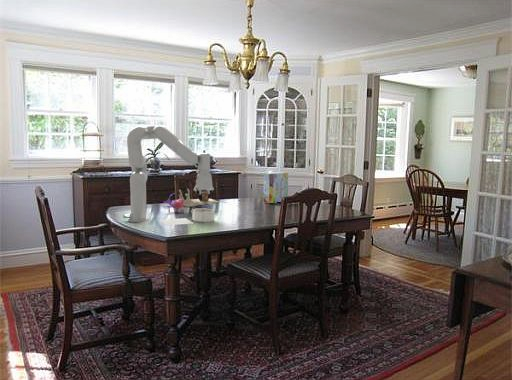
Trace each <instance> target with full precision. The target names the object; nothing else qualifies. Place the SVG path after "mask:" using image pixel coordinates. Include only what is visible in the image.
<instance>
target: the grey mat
mask: <svg viewBox="0 0 512 380" xmlns="http://www.w3.org/2000/svg"><path fill="white" fill-rule="evenodd" d="M159 221H160V222H161V223H162V224H164V225H165V226H174V225H175V226H176V225H177V226H178V225H191V224H193V225H194V224H195V223H194V222H193V221H191V220H189V218H186V217H184V218H183V217H181V218H168V219H167V218H165V219H164V218H163V219H159Z"/></svg>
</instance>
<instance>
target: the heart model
mask: <svg viewBox="0 0 512 380" xmlns="http://www.w3.org/2000/svg"><path fill="white" fill-rule="evenodd" d="M175 194H176V195H177V193H176V192H174V193H172V194H170V195H169V198H168V199H167V200H166V201H163V204H167V206H165V205H164V206H162V208H163V209H164V210H167V212H168V213H169V214H171V212H170V211H171V210H170V209H171V208H172V209H173V211H174V212H175V213H176V212H177V210H180V211H181V214H183V213H184V211H183V209H184V206H183V203H184V200H185V199H184V200H183V199H180V198H181V197H179V199H178V198H177V199H173V200H171V197H172V196H173V195H175ZM179 195H180V194H179ZM180 196H181V195H180Z"/></svg>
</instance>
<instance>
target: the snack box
mask: <svg viewBox="0 0 512 380" xmlns="http://www.w3.org/2000/svg"><path fill="white" fill-rule="evenodd" d="M288 185H289V173H288V172H286V171H285V172H284V171H281V172H278V171H277V172H265V173H263V190H262V191H263V193H262V194H263V197H262V198H263V199H262V201H263V202H265V203H264V204H267V203H273V204H276V203H275V202H281V197H282V196H288V195H289V193H288V191H289V186H288Z"/></svg>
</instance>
